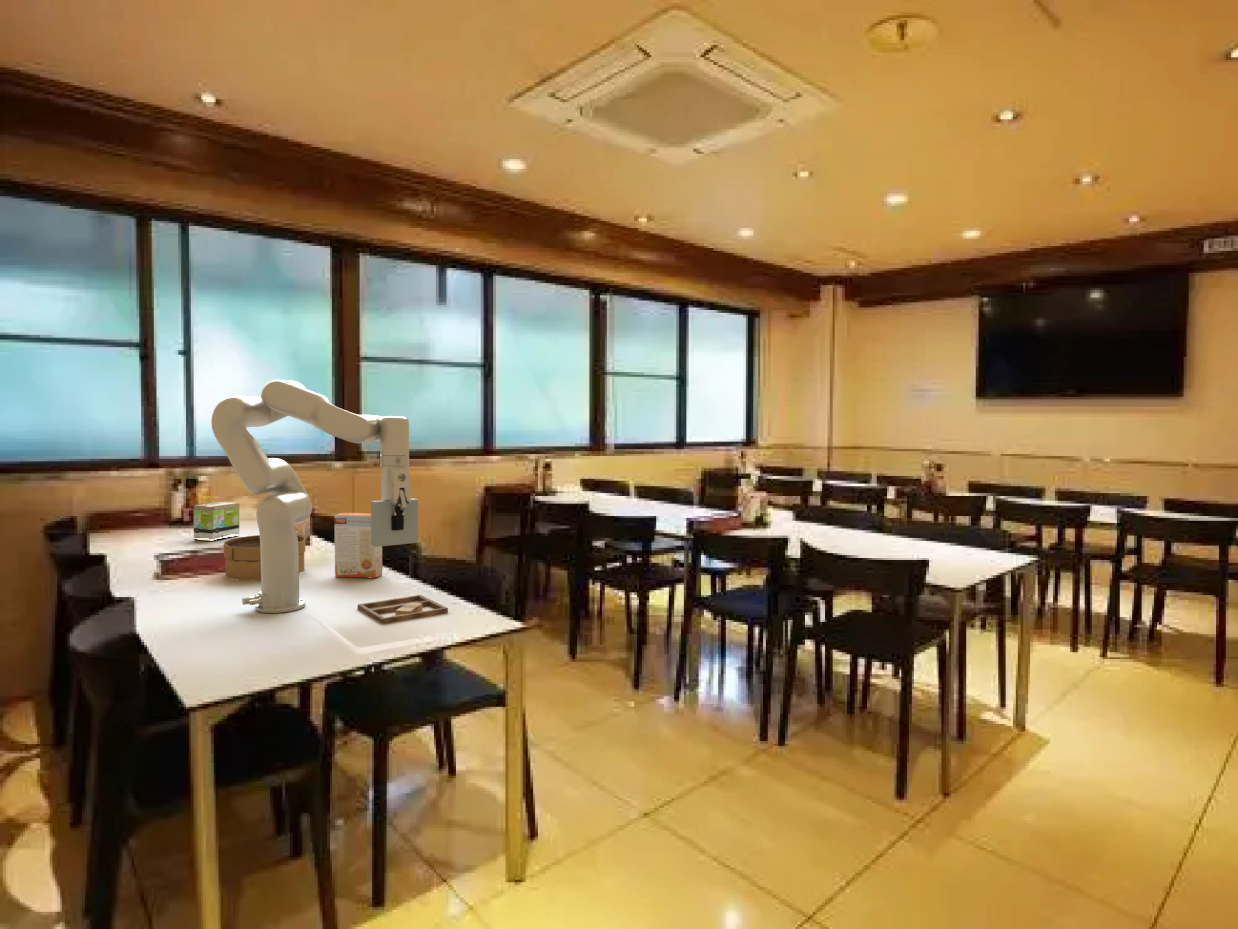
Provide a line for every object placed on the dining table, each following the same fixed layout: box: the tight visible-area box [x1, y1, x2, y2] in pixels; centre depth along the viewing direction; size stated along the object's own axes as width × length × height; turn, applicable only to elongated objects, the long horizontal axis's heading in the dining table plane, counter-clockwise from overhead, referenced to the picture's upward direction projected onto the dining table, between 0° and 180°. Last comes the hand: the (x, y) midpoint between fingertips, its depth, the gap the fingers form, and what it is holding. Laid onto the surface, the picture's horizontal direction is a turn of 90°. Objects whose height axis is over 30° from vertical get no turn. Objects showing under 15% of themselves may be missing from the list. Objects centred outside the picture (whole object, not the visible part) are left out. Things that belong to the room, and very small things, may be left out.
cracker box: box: [333, 512, 383, 579], centre depth 242 cm, size 14×6×21 cm, turn 84°
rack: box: [357, 594, 449, 625], centre depth 198 cm, size 18×18×2 cm
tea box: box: [193, 501, 240, 539], centre depth 308 cm, size 15×10×15 cm, turn 167°
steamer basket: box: [223, 534, 306, 581], centre depth 247 cm, size 25×25×11 cm
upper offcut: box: [394, 602, 423, 616], centre depth 195 cm, size 8×4×2 cm, turn 172°
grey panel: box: [370, 497, 419, 547], centre depth 200 cm, size 12×3×12 cm, turn 129°
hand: (394, 528), depth 200 cm, fingers closed on grey panel, 3 cm apart
